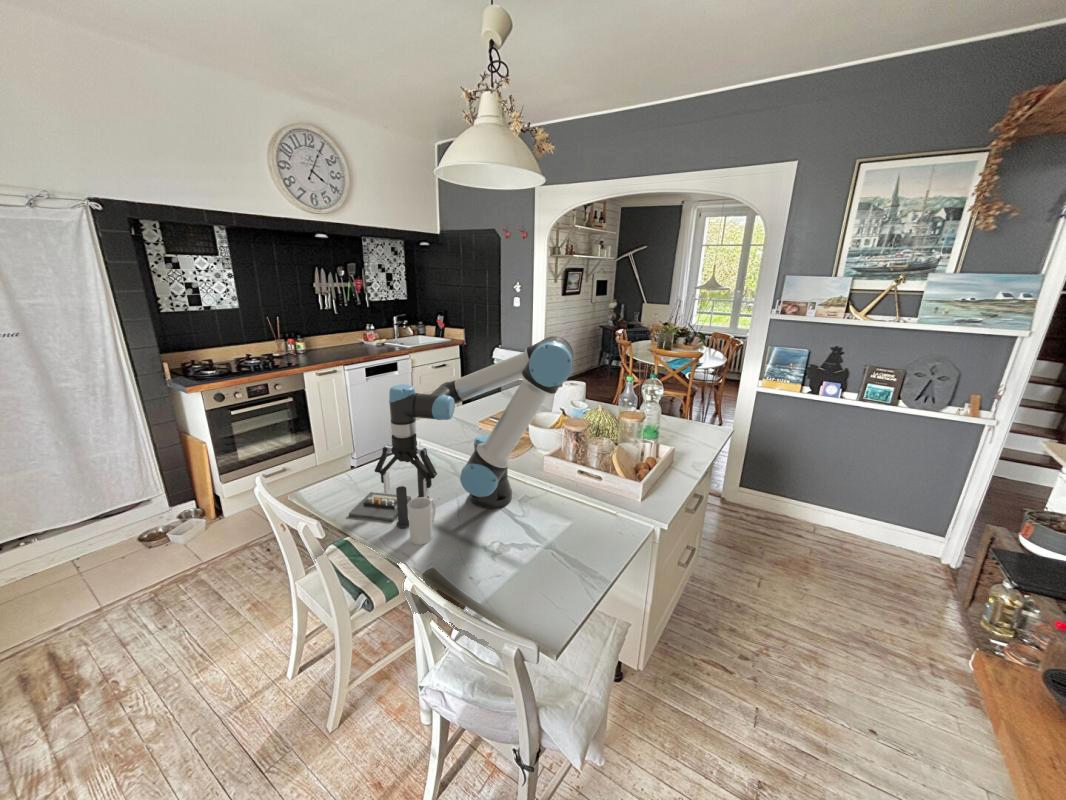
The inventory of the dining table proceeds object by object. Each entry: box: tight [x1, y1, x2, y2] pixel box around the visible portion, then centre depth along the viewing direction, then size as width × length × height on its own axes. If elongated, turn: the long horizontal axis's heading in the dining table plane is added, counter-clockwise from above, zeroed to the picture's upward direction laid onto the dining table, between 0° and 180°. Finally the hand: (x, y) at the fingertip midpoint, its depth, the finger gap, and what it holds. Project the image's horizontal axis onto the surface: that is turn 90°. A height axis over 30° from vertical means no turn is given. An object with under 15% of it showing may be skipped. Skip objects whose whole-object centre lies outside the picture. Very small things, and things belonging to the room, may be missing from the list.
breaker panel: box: [348, 491, 412, 523], centre depth 142 cm, size 15×14×3 cm
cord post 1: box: [395, 485, 409, 529], centre depth 131 cm, size 4×4×13 cm
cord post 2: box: [416, 465, 430, 499], centre depth 146 cm, size 4×4×13 cm
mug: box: [407, 497, 437, 545], centre depth 126 cm, size 10×7×12 cm, turn 152°
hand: (406, 493), depth 139 cm, fingers open, 13 cm apart
